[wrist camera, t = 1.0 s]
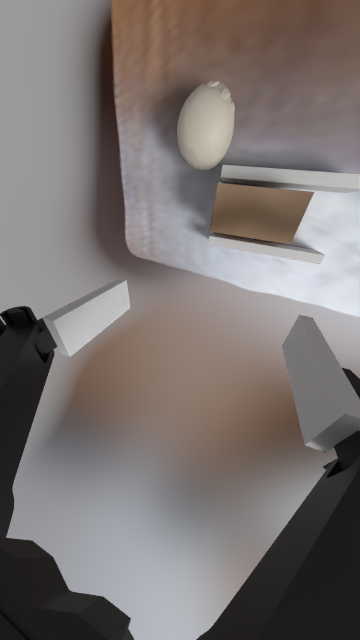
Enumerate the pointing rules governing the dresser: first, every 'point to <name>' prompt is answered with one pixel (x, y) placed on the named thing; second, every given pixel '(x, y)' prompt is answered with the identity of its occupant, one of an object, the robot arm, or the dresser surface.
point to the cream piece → (206, 125)
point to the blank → (258, 212)
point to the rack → (287, 180)
